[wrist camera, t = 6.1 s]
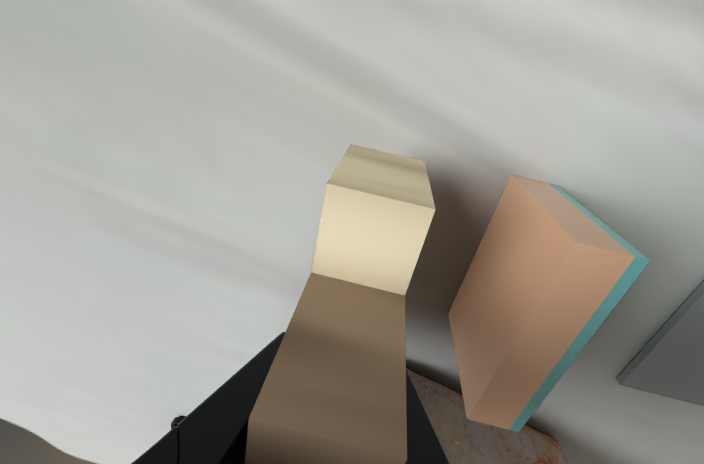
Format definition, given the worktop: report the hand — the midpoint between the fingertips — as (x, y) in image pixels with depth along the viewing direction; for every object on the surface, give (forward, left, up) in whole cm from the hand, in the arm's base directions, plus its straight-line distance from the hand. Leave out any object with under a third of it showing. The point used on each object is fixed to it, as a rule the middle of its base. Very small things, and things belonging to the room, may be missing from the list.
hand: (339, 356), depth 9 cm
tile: (0, -6, -8) cm, 10 cm away
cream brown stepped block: (0, 0, -5) cm, 5 cm away
